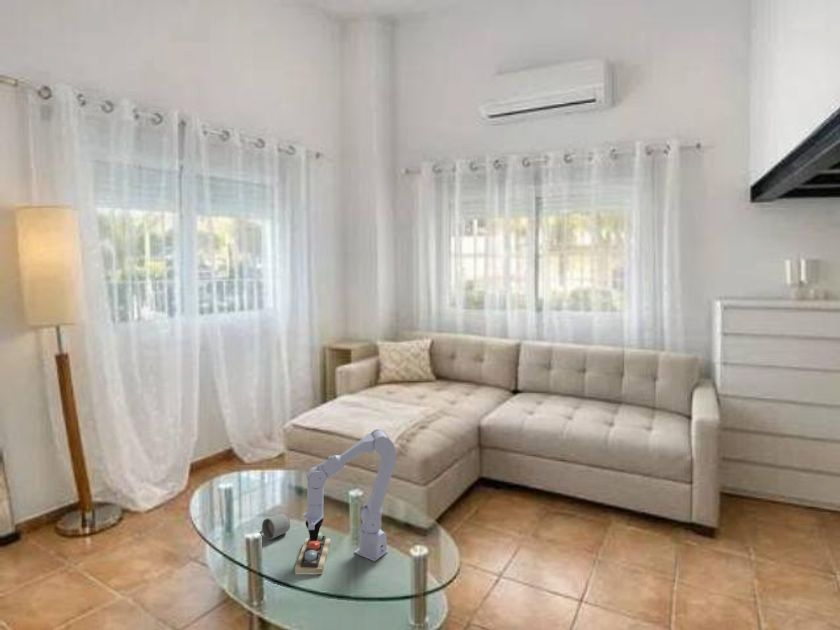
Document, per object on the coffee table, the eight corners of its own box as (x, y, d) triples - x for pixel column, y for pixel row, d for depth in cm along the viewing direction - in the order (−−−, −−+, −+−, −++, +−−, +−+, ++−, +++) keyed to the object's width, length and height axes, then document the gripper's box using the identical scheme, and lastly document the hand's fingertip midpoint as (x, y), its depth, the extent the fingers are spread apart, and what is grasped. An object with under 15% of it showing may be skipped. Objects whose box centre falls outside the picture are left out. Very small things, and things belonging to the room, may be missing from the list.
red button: (309, 545, 187) (309, 540, 186) (320, 545, 187) (320, 540, 187) (307, 551, 183) (307, 546, 182) (318, 551, 183) (318, 546, 183)
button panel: (305, 543, 195) (306, 534, 194) (330, 543, 195) (330, 534, 195) (294, 574, 175) (295, 564, 175) (322, 574, 175) (322, 564, 175)
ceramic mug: (291, 534, 201) (291, 514, 200) (274, 542, 194) (274, 522, 194) (273, 525, 207) (273, 506, 207) (256, 533, 201) (256, 514, 200)
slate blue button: (305, 555, 180) (305, 549, 180) (317, 555, 180) (317, 550, 180) (303, 561, 176) (303, 556, 176) (315, 562, 176) (315, 556, 176)
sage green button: (312, 536, 193) (312, 531, 193) (323, 536, 193) (323, 531, 193) (310, 542, 189) (310, 536, 189) (321, 542, 189) (321, 537, 189)
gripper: (307, 493, 190) (306, 529, 191) (299, 511, 176) (298, 550, 177) (326, 493, 191) (325, 530, 192) (320, 512, 176) (319, 551, 177)
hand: (314, 540), depth 184 cm, fingers closed
